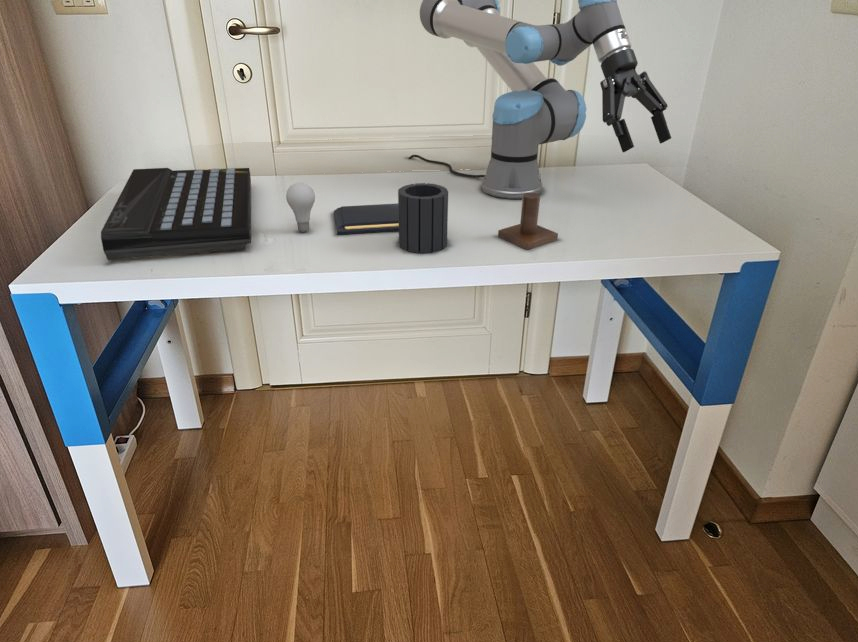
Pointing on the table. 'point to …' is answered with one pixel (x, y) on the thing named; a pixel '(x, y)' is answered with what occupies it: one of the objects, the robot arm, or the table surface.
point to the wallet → (366, 219)
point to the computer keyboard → (179, 213)
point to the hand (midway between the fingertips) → (647, 145)
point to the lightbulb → (301, 203)
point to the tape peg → (528, 226)
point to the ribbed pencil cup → (423, 217)
